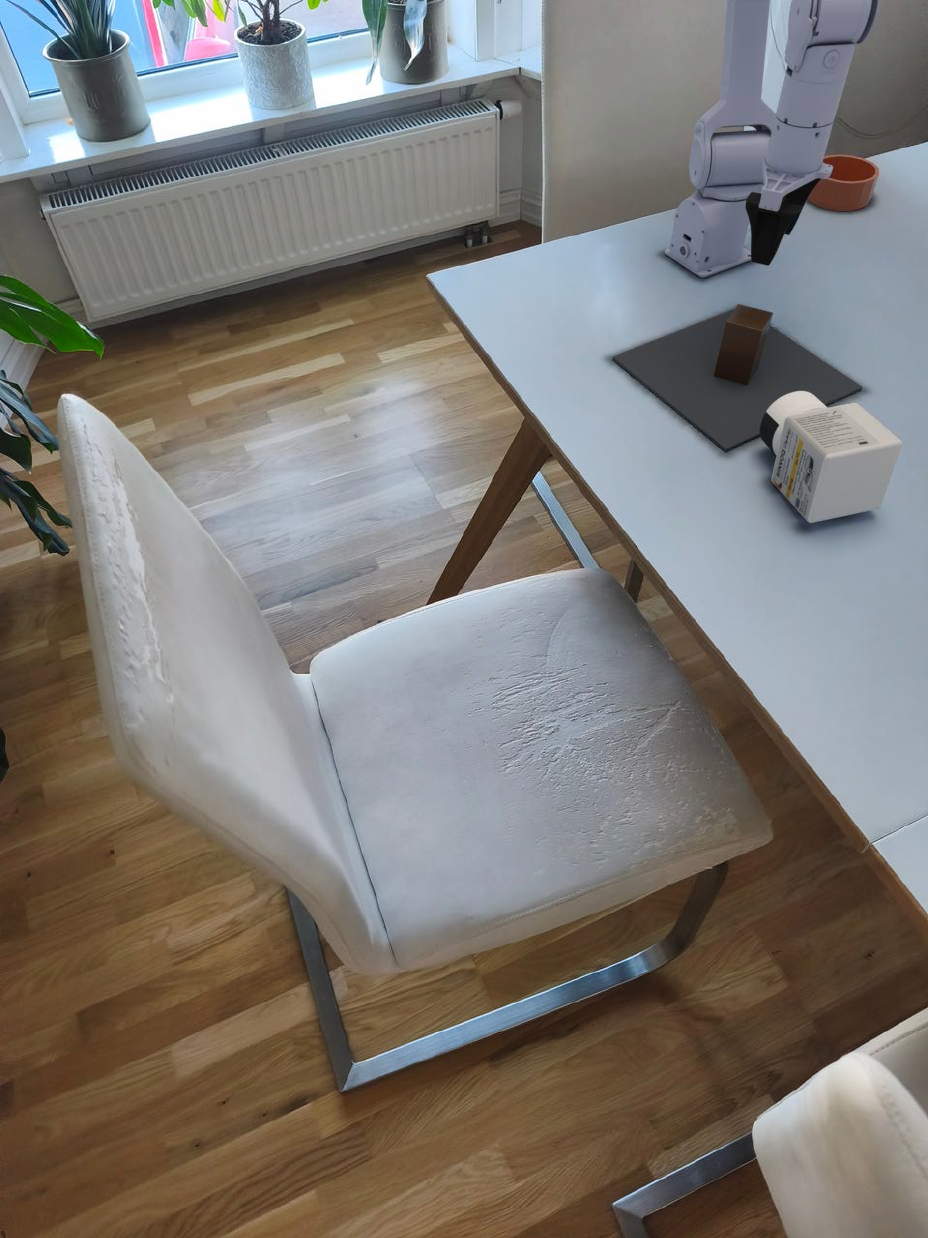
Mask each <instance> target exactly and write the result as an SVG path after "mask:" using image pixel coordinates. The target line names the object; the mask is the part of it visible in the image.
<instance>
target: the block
mask: <svg viewBox="0 0 928 1238" xmlns="http://www.w3.org/2000/svg"><path fill="white" fill-rule="evenodd" d="M733 309H734V311H733V312H732V314H731V315H730V317H729V318H728V320H727V321H726V324H725V329H724V333H723V337H722V342H721V346H720V350H719V355H718V359H717V363H716V368H715V372H714V376H715V377H719V378H723V379H726V380H730V381H733V382H737V383H740V384H744V385H748V384H749V382H750V380H751V378H752V377H753V375H754V373H755V372H756V370H757V368H758V366H759V362H760V359H761V355H762V352H763V348H764V344H765V341H766V337H767V333H768V330H769V326H771V324H772V323H771V322H772V318H773V316H774V312H772V311H768V310H764V309H760V308H756V307H752V306H748V305H744V304H740V303H738V304H736V306H735V307H734V308H733Z"/></svg>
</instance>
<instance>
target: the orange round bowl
mask: <svg viewBox="0 0 928 1238" xmlns="http://www.w3.org/2000/svg"><path fill="white" fill-rule="evenodd" d="M823 163H825V164H829V165H832V166H833V170H832V173H831V175H830V176H829V178H827V179H821V180H820V181H819V182H818V183H817V184H816V186H815V187H814V188H813V190H812V192H811V193H810V195H809V197H808V199H807V201H808V202H809V203H811V204H813V205H814V206H817V207H819V208H821V209H824V210H828V211H837V212H853V211H857V210H861V209H864V208H865V207H866V206H868V205H869V203H870V201H871V199H872V198H873V194H874V191H875V188H876V185H877V182H878V179H879V176H880V168H879V167H878V166H877V165H876V164H875V162H873V161H870V160H868V159H866V158H864V157H860V156H855V155H851V154H850V155H849V154H830V155H824V158H823Z"/></svg>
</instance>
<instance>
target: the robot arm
mask: <svg viewBox="0 0 928 1238" xmlns="http://www.w3.org/2000/svg"><path fill="white" fill-rule="evenodd" d="M790 1H791V2H790V6H789V11H788V25H787V41H786V44H785V45H786V46H785V51H784V62H785V63H786V70H785V74H784V77H783V82H782V87H781V90H780V96H779V99H778V102H777V103H778V104H777V108H776V112H775V111H774V110H773V109H772V108H771V107H770V106H769V105H768V104H766V102H764V100H763V99H762V95H763V93H762V92H763V82H764V72H765V62H766V61H765V60H766V49H767V40H768V39H767V38H768V28H769V27H768V26H769V18H770V17H769V16H770V6H771V0H726V8H725V22H724V36H723V49H722V64H721V77H720V89H719V100H718V101H717V102H716V103H715V104H713V106H712V107H711V108H709V109H708V110H707V111H706V112H705V113H704V114H703V115H702V116H700V117H699V119H698V120H697V122H696V123H695V126H694V131H693V139H692V144H691V147H690V152H689V162H688V164H689V165H688V172H689V180H690V182H691V184H692V185H693V188H695V191H694V192H693V193H692V194H691V195H690V196H689V197H687V198H685V199H683V200H682V201H681V202H680V203H679V204H678V206H677V208H676V211H675V214H674V221H673V227H672V234H671V241H670V245H669V248H666V249H665V250H664V254H665V255H666V256H668V257H669V258H671V259H672V260H674V261H675V262H677V263H678V264H679V265H681V266H683V267H684V268H686V269H687V270H689V271H691V272H692V273H694V274H695V275H697V276H698V277H699V278H707V277H710V276H712V275H715V274H717V273H721V272H722V271H726V270H728V269H731V268H733V267H736V266H739V265H742V264H745V263H746V262H750V261H751V263H754V264H758V265H763V266H767V267H769V266H771V263H772V262H773V260H774V259H775V257H776V255H777V252H778V251H779V248H780V246H781V243H782V241H783V238H784V237H785V235H787V236H790V235H791V233H792V231H793V230H794V228H795V226H796V225H797V223H798V220H799V218H800V216H801V214H802V212H803V209H804V207H805V205H806V203H807V201H808V200H807V199H808V197H809V195H810V193H811V192H812V190H813V188H814V187H815V186H816V184H817V183H818V182H819V181H820V180H821V179H827V178H829V176H830V175H831V173H832V170H833V166H832V165H829V164H825V163H823V158H824V157H825V156H826V152H827V151H826V150H827V148H828V144H829V140H830V137H831V134H832V130H833V126H834V123H835V119H836V117H837V113H838V110H839V109H838V108H839V105H840V101H841V99H842V95H843V91H844V88H845V84H846V81H847V77H848V74H849V70H850V66H851V63H852V60H853V56H854V52H855V49H856V46H855V44H856V45H858V44H859V45H861V44H863V43H864V42H865V41H866V40H867V38H868V37H869V36H870V34H871V32H872V30H873V28H874V25H875V22H876V20H877V16H878V12H879V6H880V0H790ZM739 127H751V128H753V129H752V130H751V129H750V130H733V131H721V132H720V131H719V132H716V131H717V130H719V129H722V128H723V129H724V128H739ZM749 227H750V249H748V248H747V247H744V246H745V243H746V238H747V233H748V230H749Z"/></svg>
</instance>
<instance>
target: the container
mask: <svg viewBox="0 0 928 1238" xmlns="http://www.w3.org/2000/svg"><path fill="white" fill-rule="evenodd" d="M759 437H760V439H761V441H762V442H763V443H764V444H765V446H767V447H768V448H769V450H770V451H771V452H773V454H774V455H775V461H774V465H773V470H772V473H771V479H770V480H771V481H770V482H771V483H772V484H773V485H774V486H775V487H776V489H778V490H779V492H780V493H781V494H782V495H783V496H784V498H786V499H787V500H788V502H789V503H790V504H791V505H792V506H793V507H794V508H795V509H796V510H797V512H799V514H800V515H801V516H802V517H803V519H805V521H806V522H807V523H809V524H813V523H818V522H823V521H828V520H833V519H837V518H841V517H846V516H851V515H856V514H860V513H864V512H865V513H866V512H869V511H874V510H879V509H880V508H881V506H882V504H883V501H884V499H885V495H886V492H887V489H888V486H889V483H890V480H891V477H892V475H893V471H894V469H895V465H896V464H897V463H896V462H897V460H898V457H899V453H900V451H901V448H902V445H903V442H902V440H901V439H900V438H899V437H897V436H896V435H895V434H894V433H893V432H891V431H890V430H889V429H888V428H887V427H885V426H884V424H883V423H881V422H880V421H879V420H878V419H876V418H875V417H874V416H873V415H872V414H871V413H869V411H867V410H866V409H865V408H864V407H862V406H861V405H860V404H859V403H858V402H850V403H846V404H841V405H835V406H831V407H827V406H825V405H824V404H823V403H822V402H821V401H820V400H819V399H817V398H816V397H815V396H814V395H813V394H811V393H809V392H806V391H796V392H792V393H789V394H786V395H784V396H782V397H781V398H779V399H778V400H776V401H775V402H774V403H773V404H772V405H771V406H770V407H769V408H768V409H767V411H766V412H765V414H764V416H763V418H762V421H761V424H760V436H759Z"/></svg>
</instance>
